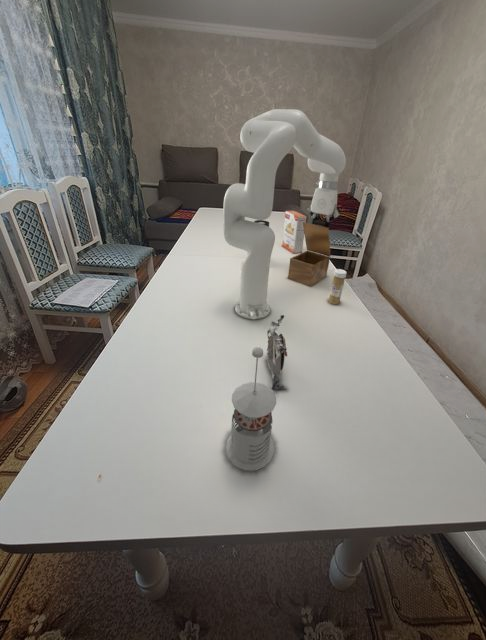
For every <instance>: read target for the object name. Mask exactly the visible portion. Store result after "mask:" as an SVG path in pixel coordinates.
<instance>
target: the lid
mask: <svg viewBox="0 0 486 640" xmlns="http://www.w3.org/2000/svg"><path fill="white" fill-rule="evenodd" d="M325 222H326V221H323V220H319V219H318V220H315V222H314V224H312V223H310V222H307V221H306V222H303V228H304V240H305V246H306V247H305V248H306V251H310V252H314V253H317V254H321V255H324V256H328V257H330V258H331V254H332V253H331V242H330V241H331V240H330V227H329V228H327V227H324V226H325ZM316 224H317V225H316Z"/></svg>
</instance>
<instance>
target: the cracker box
mask: <svg viewBox="0 0 486 640" xmlns="http://www.w3.org/2000/svg"><path fill="white" fill-rule="evenodd" d="M284 213H285V214H284V222H283V223H284V224H283V233H282V234H283V235H282V244H281V245H282V246H281V247H283V248H285V249H286V250H288V251H289V252H291V253H292V254H301V253H303V246H304V240H305V234H304V228H303V222H306V223H307V218H308V217H307V215H304V214H302V213H300V212H299V211H296V210H285V212H284Z"/></svg>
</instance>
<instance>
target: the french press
mask: <svg viewBox="0 0 486 640" xmlns="http://www.w3.org/2000/svg"><path fill="white" fill-rule="evenodd" d="M251 356H252V357H253V358H256V361H255V374H254V375H255V376H254V382H253V381H251V382H246V383H242V384H241V385H239V386H237V387H236V388H235V389H234V391H232V394H231V403H232V405H233V408H234V410H233V414H232V416H231V428H230V429H231V433H230V436H229V437H228V439H227V441H226V445H225V446H226V447H225V451H226V452H225V453H226V456H227V458H228V460H229V462H231V463H232V464H233V465H234V467H236V468H239V469H241V470H243V471H257V470H259V469H263V468H264V467H266V466H267V465H268V464H269V463H270V462H272V461H271V460H272V459H273V456H274V454H275V443H274V441H273V439H272V437H271V436H272V429H273V425H272V424H273V421H274V420H273V415H272V412H273V411H274V410H275V407H276V405H277V396H276V393H275V390H273V389H272V388H270V387H269V386H268V385H266V384H263V383H261V382H257V375H258V364H259V363H258V362H259V359H260V358H263V356H264V350H263V348H261V347H254V348H253V349H252V353H251Z"/></svg>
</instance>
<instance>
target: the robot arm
mask: <svg viewBox="0 0 486 640" xmlns="http://www.w3.org/2000/svg"><path fill="white" fill-rule="evenodd" d="M239 138H240V143H241V146H242V148H244V150H246V151H247V152H249V153H253V154H252V155H251V157H250V159H249V161H248V163H247V167H246V174H245V183H242V182H241V183H240V182H236V183H233V184H230V186H229V187H228V188H227V189H226V191H225V194H224V197H223V236H224V240H225V242H226V243H227V245H229V246H231V247H234V248H237V249H239V250H243V251H245V252H247V254H246V256H245V257H244V258H243V259H242V261H241V265H240V287H239V290H240V291H239V302H236V305H235V306H234V307H235V309H234V310H235V313H236V314H237V315H238V316H240V317H241V318H243V319H249V320H259V319H263V318H265V317H267V316H268V315H269V314H270V311H271V308H270V306H269V304H267V298H268V287H269V275H270V266H271V265H270V264H271V258H272V253H273V249H274V246H275V242H276V235H275V232H274V230H273V229H272V228H271V227H270V226H269V227H268V226H266V225H263V224H260V223H256V222H254V221H252V220H264V221H266V220H267V219H269V218H270V217H271V215H272V213H273V207H274V197H275V196H274V195H275V185H276V175H277V172H278V171H277V170H278V168H279V166H280V164H281V162H282V161H283V159H284V158H285V156H287V154H289V152H290V151H291V150H292V149H293V148H294V149H295V151H297V153H298V154H299V155H300V156H301V157H303V158H306V159H307V167H308V169H309V170H310V171H311V172H314V173H319V179H318V180H316V181H315V184H316V185H317V187H316V188H315V190H314V193H313V195H312V196H313V197H312V200H311V204H310V205H309V207H308V208H307V211H308V213H310V216H311V218H312V222H311V224H314V222H315V220H319V218H318V216H319V215H324V216H326V217H325V218H326V220H325V221H324V222H325V226H324V227H327V228H329V229H330V227H331V222H332V221H333V220H335V219H336V218H339V216H340V213H339V210H338V208H337V206H338V189H337V188H338V187H337V186H338V182H339V177H340V174H342V173H343V171H344V170H345V169H346V164H347V158H346V155H345V153H344V150H343V149H342V147H341V146H340V145H339V144H338V143H336V142H335V141H333V140H331V139H329V138H328V137H326V136H324V135H323V134H320V133H319V132H318V131H317V129H316V127H314V125H313V124H312V122H311V120H310V119H309V117H308V116H307V115H306V113H305V112H303V111H302V110H300V109H295V108H291V109H290V108H289V109H288V108H287V109H286V108H284V109H283V108H274V109H270V110H268V111H265V112H263V113H261V114H259V115H257V116H255V117H252V118H250V119H248V120H247V121H246V122H245V123H244V124H243V126H242V127H241V129H240V136H239ZM246 218H249V219H252V220H247V219H246ZM316 225H317V224H316Z"/></svg>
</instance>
